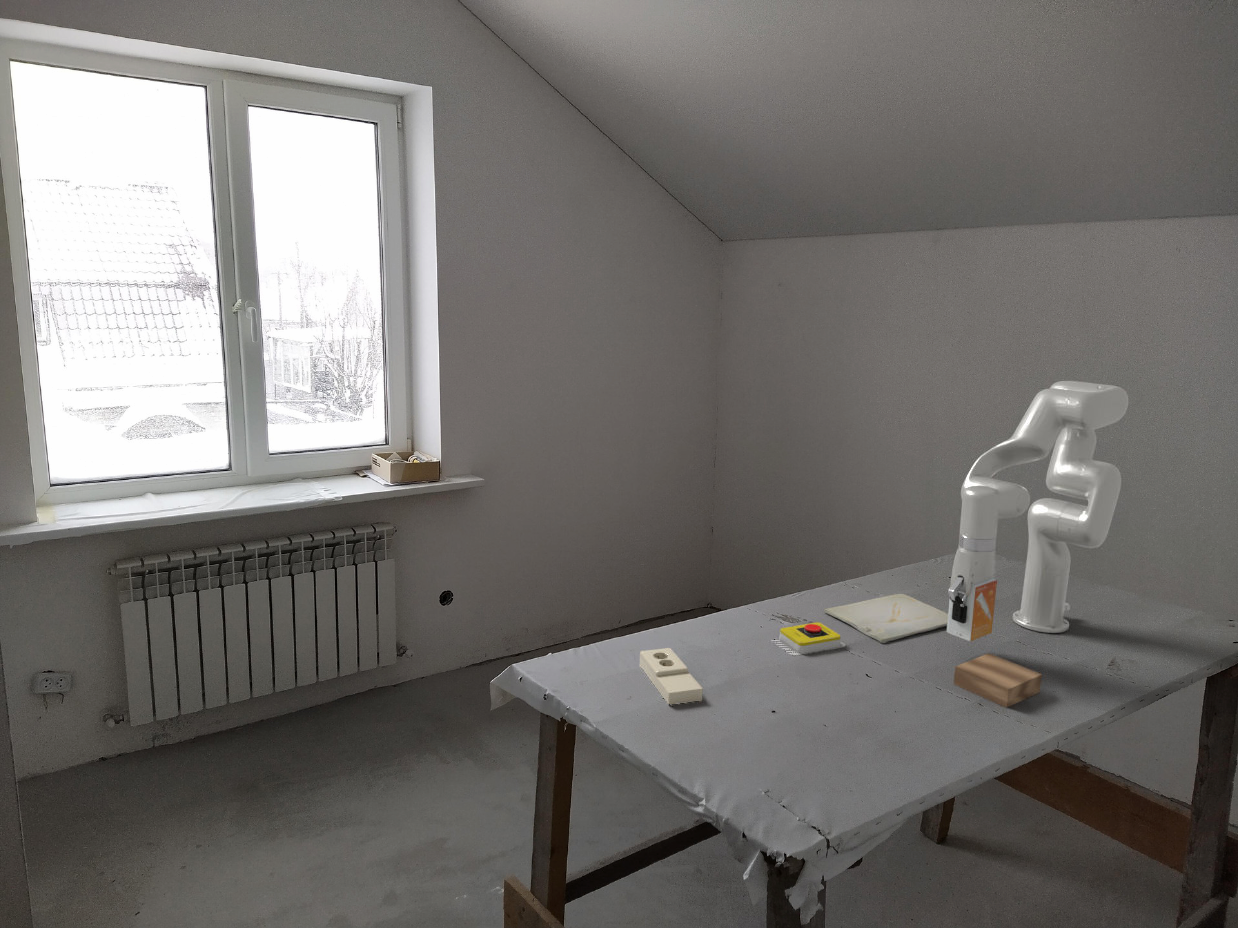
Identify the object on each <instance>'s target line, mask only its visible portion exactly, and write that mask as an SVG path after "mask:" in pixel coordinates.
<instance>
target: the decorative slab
mask: <svg viewBox="0 0 1238 928" xmlns="http://www.w3.org/2000/svg"><path fill="white" fill-rule="evenodd" d="M823 612H824V613H825V614H828V615H830V616H832V617H834V618H836V619H838V620H840V621H842V622H844V623H846V624H848V625H850V626H852V627H853V628H855V629H856V630H857V631H858V632H860V633H862V634H863V635H866V636H867V637H870V638H872V639H874V640H876V641H878V642H879V643H881V644H886V643H888V642H892V641H895V640H899V639H902V638H905V637H908V636H911V635H915V634H919V633H920V634H921V633H925V632H929V631H933V630H936V629H940V628H944V627H947V623H948V612H947V613H946V612H945V611H943V610H940V609H938V608H936V607H934V606H932V605H930V604H927V603H924V602H923V601H921V600H918V599H916V598H914V597H912V596H909V595H907V594H904V593H895V594H890V595H886V596H882V597H875V598H872V599H867V600H863V601H857V602H853V603H849V604H843V605H838V606H834V607H828V608H825V609H823Z"/></svg>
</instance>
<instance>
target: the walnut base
mask: <svg viewBox="0 0 1238 928" xmlns="http://www.w3.org/2000/svg"><path fill="white" fill-rule="evenodd" d="M1042 677H1043V674H1042V673H1039V672H1038V671H1034V670H1032V669H1031V668H1030V669H1029V668H1027V667H1024V666H1022V665H1020V664H1017V663H1014V662H1012V661H1010V660H1008V659H1005V658H1002V657H1000V656H997V655H994V654H992V653H989V652H988V653H986V654H983V655H981V656H978V657H975V658H974V659H970V660H967V661H966V662H963V663H960V664H958V665H956V666H955V667H954V675H953V685H954V686H957V687H959V688H961V689H964V690H965V691H968V692H970V693H972V694H975V695H976V696H979V697H982V698H984V699H986V700H988V701H990V702H992V703H994V704H997V705H999V706H1002V707H1004V708H1006V709H1007V708H1009V707H1012V706H1013V705H1015V704H1017V703H1019V702H1022V701H1024V700H1026V699H1029V698H1030V697H1032V696H1034V695H1037V694H1040V692H1041V687H1042V686H1041V685H1042V679H1043V678H1042Z"/></svg>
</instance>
